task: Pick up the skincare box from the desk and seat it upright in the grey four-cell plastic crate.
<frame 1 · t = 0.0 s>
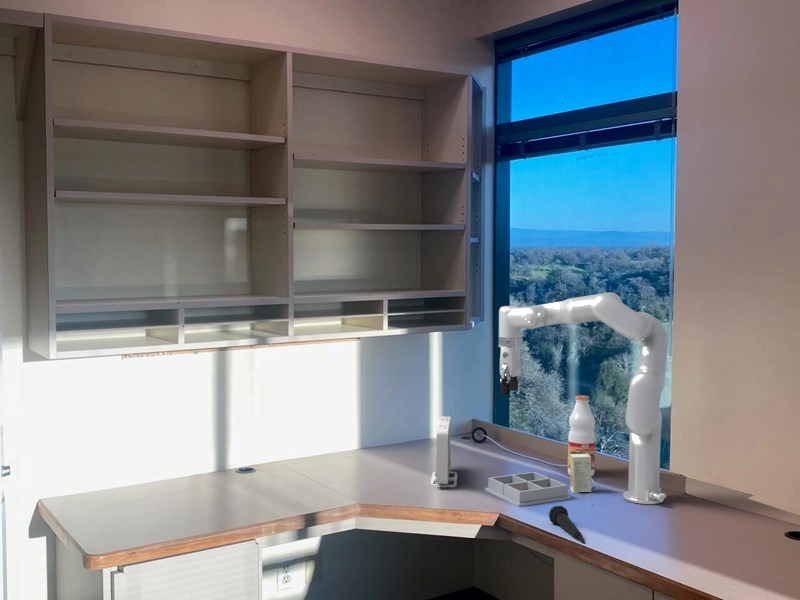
hand: (509, 392, 284), 31 cm above the table, tool pointing down, fingers open, 9 cm apart
skincare box: (580, 492, 276), on the table
fruit juice: (581, 474, 298), on the table
microphone: (565, 533, 236), on the table
network device: (444, 480, 289), on the table
bottle crate: (527, 494, 272), on the table
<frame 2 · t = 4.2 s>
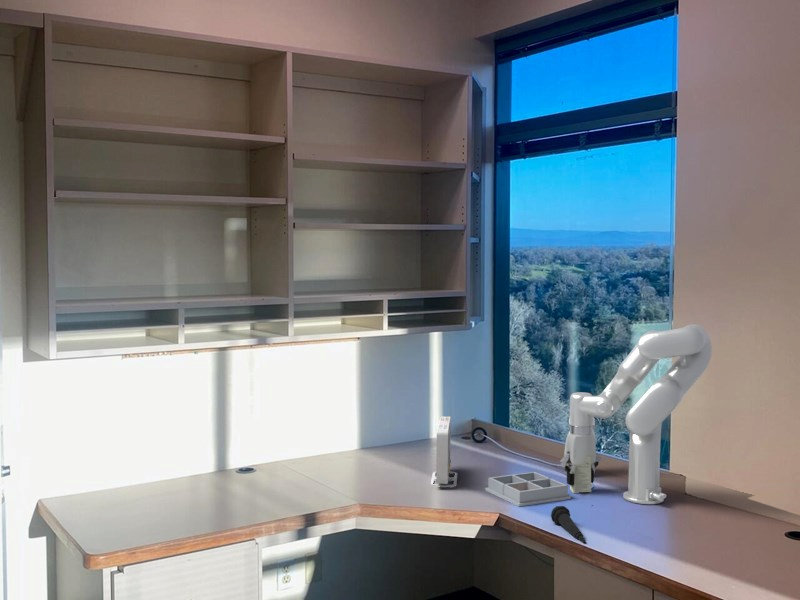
hand: (580, 482, 276), 3 cm above the table, tool pointing down, fingers closed on skincare box, 7 cm apart
skincare box: (580, 492, 276), on the table, touching gripper
everything else where it was.
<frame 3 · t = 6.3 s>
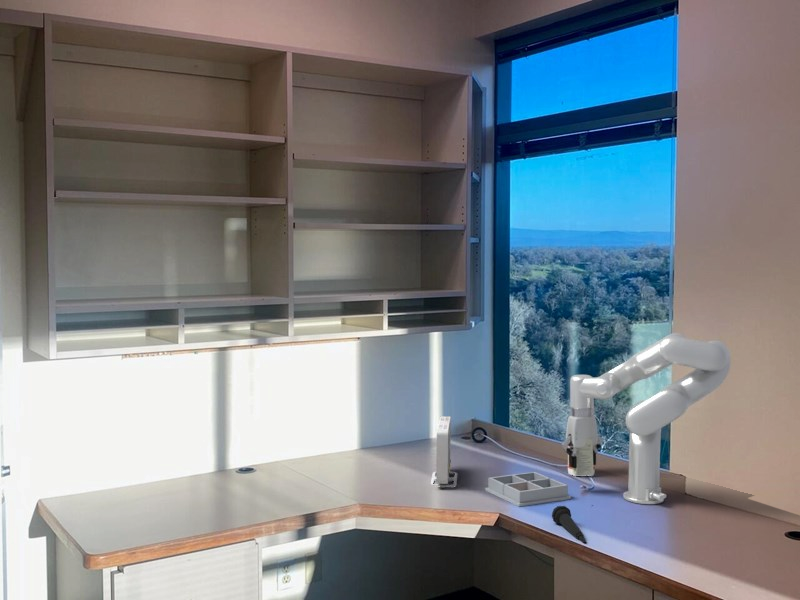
hand: (582, 465, 275), 9 cm above the table, tool pointing down, fingers closed on skincare box, 7 cm apart
skincare box: (582, 474, 275), point 6 cm above the table, touching gripper
everything else where it was.
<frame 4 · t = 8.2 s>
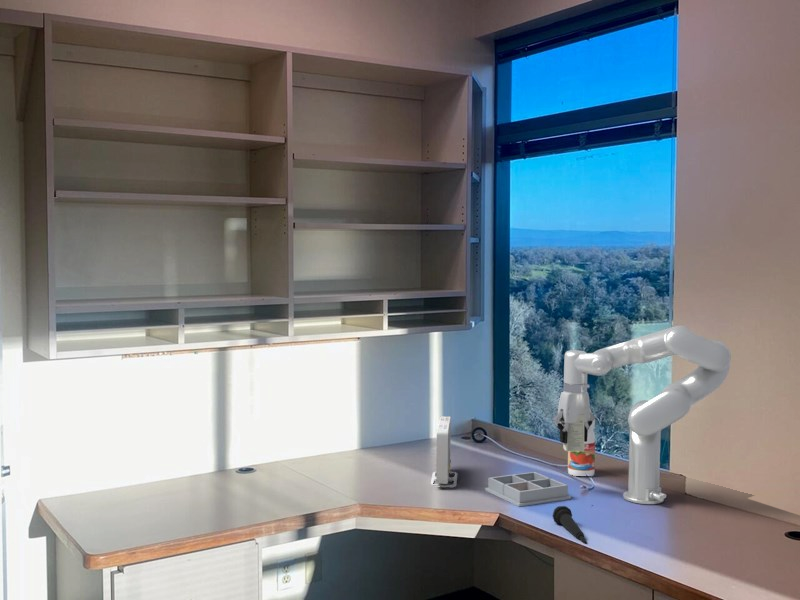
hand: (573, 441, 274), 17 cm above the table, tool pointing down, fingers closed on skincare box, 7 cm apart
skincare box: (573, 450, 274), point 14 cm above the table, touching gripper
everything else where it was.
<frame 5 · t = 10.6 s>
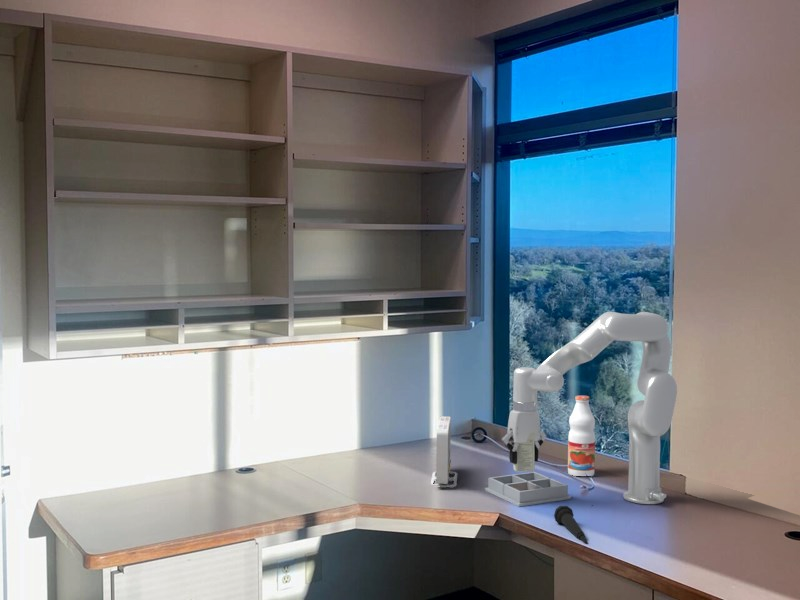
hand: (523, 461, 266), 12 cm above the table, tool pointing down, fingers closed on skincare box, 7 cm apart
skincare box: (523, 470, 266), point 9 cm above the table, touching gripper
when the fingers open (6 cm above the table, at t = 12.6 s): skincare box drops 2 cm, resting on bottle crate.
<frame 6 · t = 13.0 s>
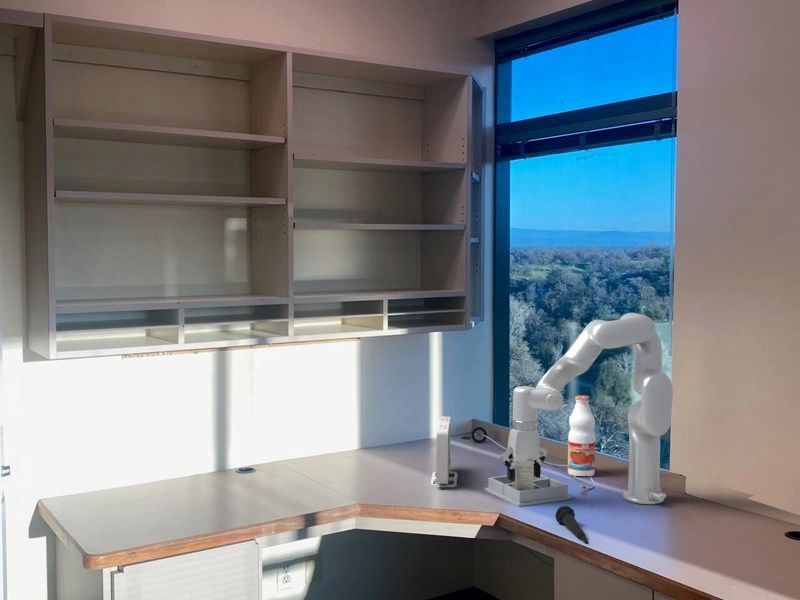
hand: (523, 478, 266), 7 cm above the table, tool pointing down, fingers open, 9 cm apart
skincare box: (522, 497, 266), point 1 cm above the table, touching bottle crate
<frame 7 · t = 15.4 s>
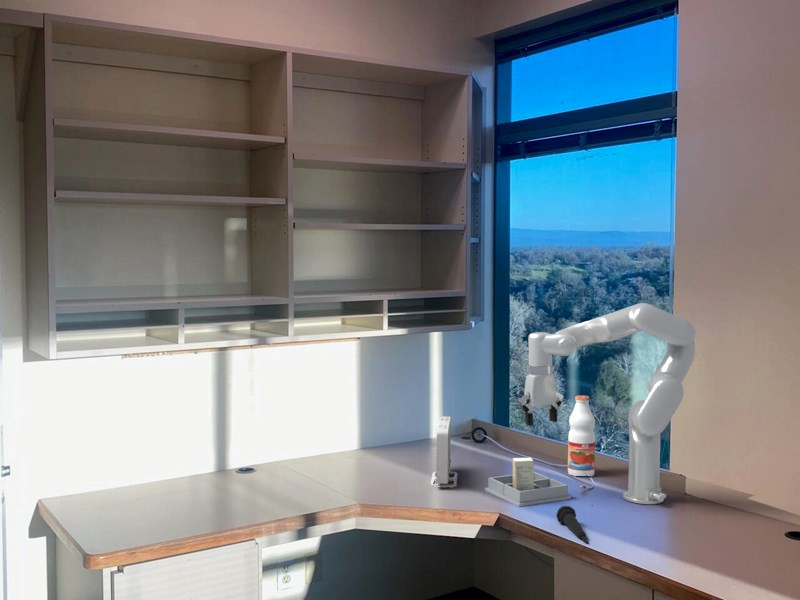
hand: (541, 423, 271), 24 cm above the table, tool pointing down, fingers open, 9 cm apart
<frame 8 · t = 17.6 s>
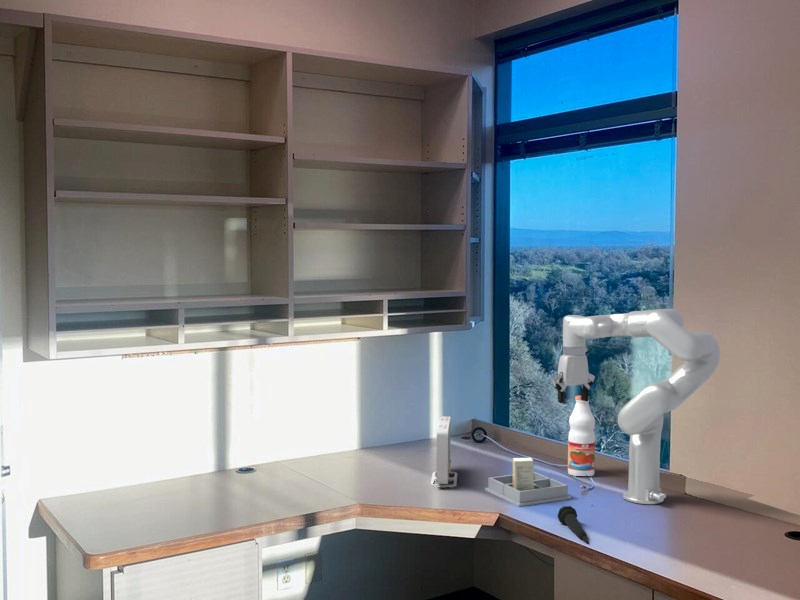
hand: (573, 401, 283), 28 cm above the table, tool pointing down, fingers open, 9 cm apart
at the end: skincare box 0.4 cm from the target spot on the bottle crate, point 0.8 cm above the bottle crate's base; skincare box tilted 0°; the gripper is holding nothing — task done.
